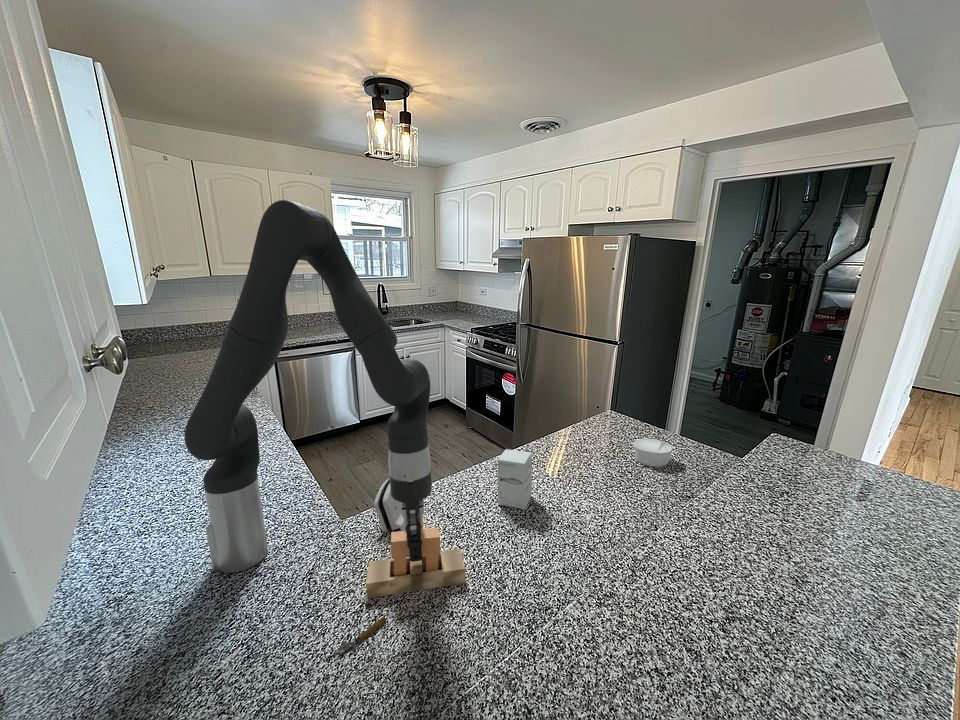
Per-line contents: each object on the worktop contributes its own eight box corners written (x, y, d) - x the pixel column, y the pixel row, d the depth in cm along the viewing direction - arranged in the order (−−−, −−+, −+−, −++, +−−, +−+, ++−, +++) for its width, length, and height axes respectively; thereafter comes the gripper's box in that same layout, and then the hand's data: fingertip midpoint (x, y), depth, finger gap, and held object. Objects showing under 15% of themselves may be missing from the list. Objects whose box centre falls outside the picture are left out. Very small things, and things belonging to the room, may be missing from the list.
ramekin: (678, 468, 118) (679, 452, 117) (640, 469, 118) (641, 453, 117) (661, 453, 129) (662, 438, 128) (627, 454, 129) (628, 438, 128)
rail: (367, 598, 71) (366, 583, 71) (370, 575, 77) (369, 561, 76) (465, 582, 74) (464, 568, 74) (461, 561, 80) (460, 548, 80)
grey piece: (403, 533, 90) (386, 495, 89) (385, 538, 91) (368, 500, 90) (424, 495, 106) (410, 462, 105) (409, 500, 107) (394, 467, 106)
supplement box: (497, 505, 100) (496, 459, 98) (506, 491, 107) (505, 448, 105) (525, 510, 98) (524, 463, 95) (532, 496, 104) (532, 451, 102)
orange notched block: (391, 575, 73) (390, 542, 72) (392, 565, 76) (391, 532, 75) (440, 570, 75) (440, 537, 73) (439, 559, 78) (438, 527, 76)
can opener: (383, 620, 67) (383, 614, 67) (390, 629, 65) (390, 622, 65) (331, 654, 61) (330, 648, 61) (337, 664, 59) (337, 658, 59)
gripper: (390, 455, 78) (396, 534, 81) (387, 490, 64) (394, 583, 67) (428, 451, 79) (433, 529, 82) (433, 485, 65) (438, 576, 69)
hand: (415, 553), depth 75 cm, fingers closed on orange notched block, 3 cm apart
